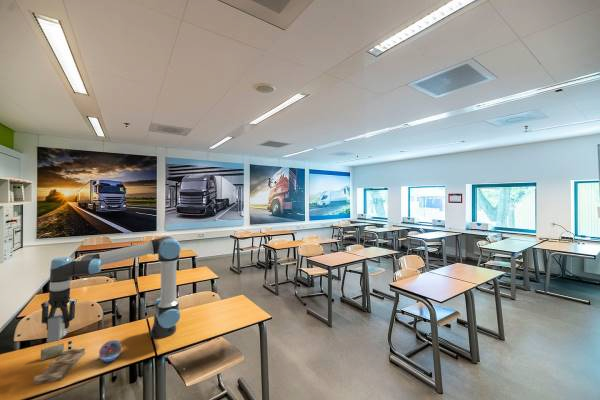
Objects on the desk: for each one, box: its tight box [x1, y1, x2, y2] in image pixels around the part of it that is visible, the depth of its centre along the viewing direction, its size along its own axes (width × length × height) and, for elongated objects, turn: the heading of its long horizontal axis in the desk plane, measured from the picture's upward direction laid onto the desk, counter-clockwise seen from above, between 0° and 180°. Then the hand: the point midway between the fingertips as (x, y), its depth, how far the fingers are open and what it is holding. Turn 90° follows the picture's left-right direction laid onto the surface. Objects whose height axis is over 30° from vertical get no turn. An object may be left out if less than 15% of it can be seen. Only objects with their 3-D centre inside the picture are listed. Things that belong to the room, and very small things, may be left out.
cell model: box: [98, 339, 123, 363], centre depth 134 cm, size 10×12×10 cm
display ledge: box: [33, 347, 86, 385], centre depth 127 cm, size 10×22×3 cm, turn 18°
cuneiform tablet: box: [40, 340, 73, 362], centre depth 136 cm, size 7×4×12 cm
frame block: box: [46, 312, 66, 343], centre depth 123 cm, size 5×7×11 cm
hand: (57, 335), depth 123 cm, fingers closed on frame block, 5 cm apart
